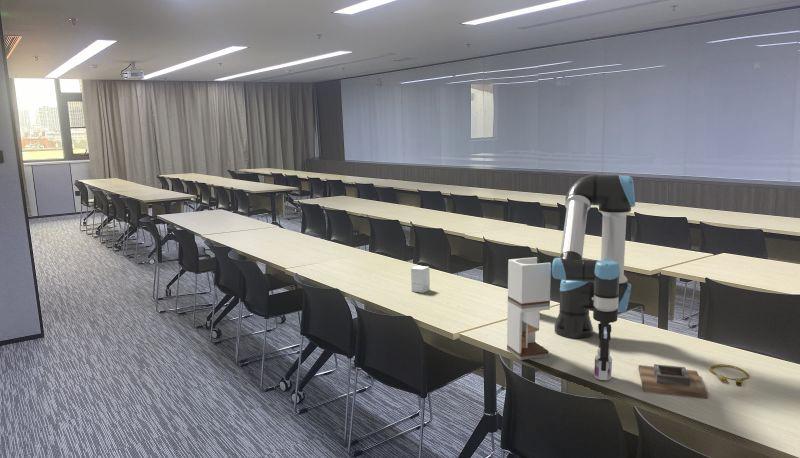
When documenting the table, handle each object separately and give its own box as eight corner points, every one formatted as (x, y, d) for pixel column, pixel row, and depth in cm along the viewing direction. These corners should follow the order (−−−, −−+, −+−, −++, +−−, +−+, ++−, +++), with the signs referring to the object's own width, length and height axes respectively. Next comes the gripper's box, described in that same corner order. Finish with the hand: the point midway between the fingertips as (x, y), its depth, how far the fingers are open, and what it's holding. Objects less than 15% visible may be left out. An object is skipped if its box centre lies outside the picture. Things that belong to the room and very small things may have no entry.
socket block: (638, 369, 197) (639, 358, 196) (696, 374, 192) (697, 363, 191) (643, 391, 180) (644, 379, 180) (707, 398, 175) (708, 386, 174)
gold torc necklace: (699, 377, 191) (699, 371, 191) (718, 364, 201) (718, 359, 201) (739, 389, 182) (739, 383, 181) (757, 375, 192) (757, 369, 192)
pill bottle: (597, 372, 194) (598, 345, 193) (613, 376, 191) (614, 349, 189) (591, 378, 190) (592, 350, 189) (607, 382, 187) (608, 354, 185)
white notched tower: (520, 360, 207) (522, 265, 201) (506, 349, 217) (508, 259, 211) (548, 356, 210) (551, 263, 204) (533, 346, 220) (535, 257, 214)
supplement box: (430, 289, 303) (430, 266, 301) (423, 293, 296) (423, 269, 294) (418, 288, 307) (417, 265, 305) (411, 291, 300) (410, 267, 298)
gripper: (593, 299, 196) (590, 363, 200) (593, 315, 179) (591, 385, 183) (616, 301, 194) (613, 365, 198) (619, 317, 177) (616, 388, 181)
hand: (602, 375), depth 190 cm, fingers closed on pill bottle, 5 cm apart
